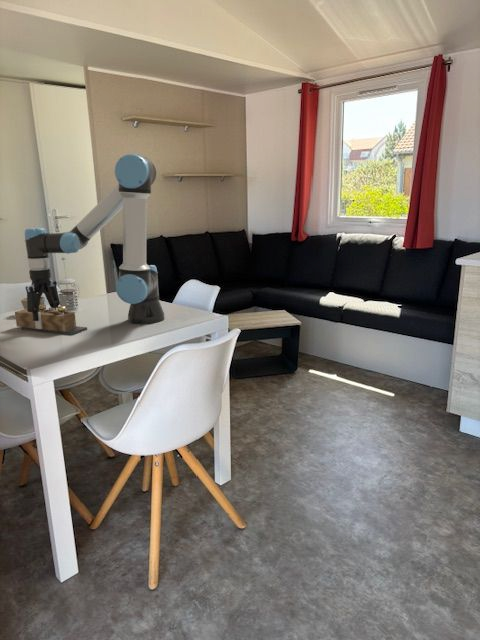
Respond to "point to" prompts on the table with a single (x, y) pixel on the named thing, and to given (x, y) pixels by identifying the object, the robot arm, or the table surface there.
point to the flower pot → (24, 302)
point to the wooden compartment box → (47, 320)
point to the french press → (68, 295)
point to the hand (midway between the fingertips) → (46, 326)
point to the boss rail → (67, 332)
